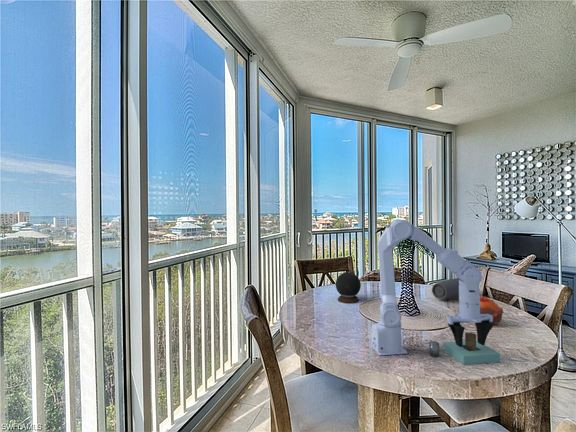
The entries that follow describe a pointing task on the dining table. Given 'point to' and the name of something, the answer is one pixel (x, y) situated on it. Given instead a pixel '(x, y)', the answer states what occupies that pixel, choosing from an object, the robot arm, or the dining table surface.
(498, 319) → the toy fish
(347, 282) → the snow globe
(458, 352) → the hole block
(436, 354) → the metal stub
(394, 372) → the dining table surface
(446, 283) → the bluetooth speaker
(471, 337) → the walnut dowel
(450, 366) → the dining table surface
